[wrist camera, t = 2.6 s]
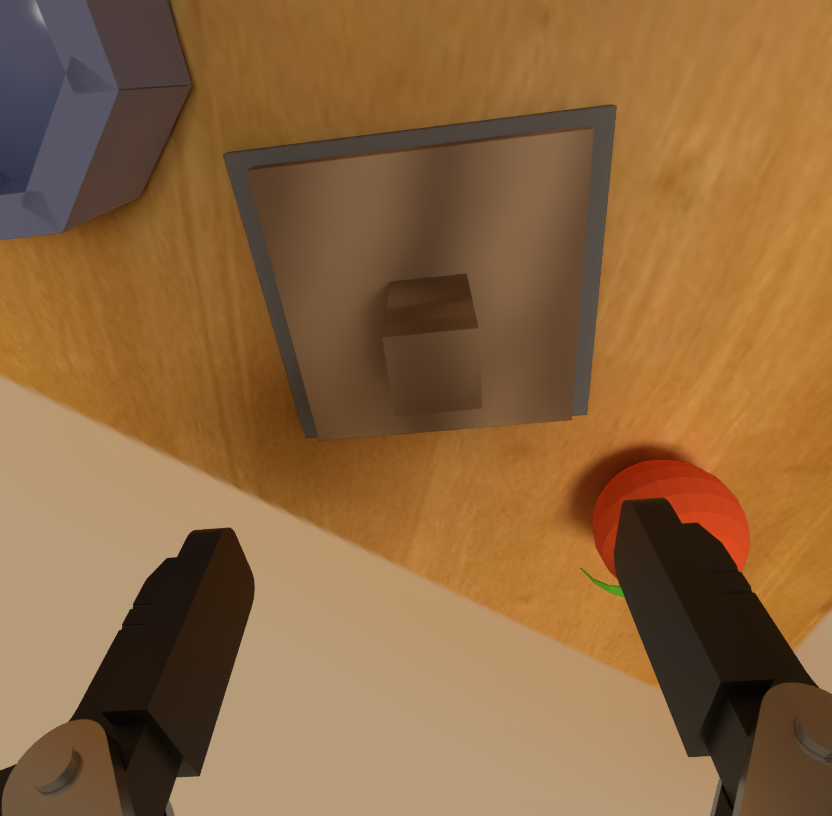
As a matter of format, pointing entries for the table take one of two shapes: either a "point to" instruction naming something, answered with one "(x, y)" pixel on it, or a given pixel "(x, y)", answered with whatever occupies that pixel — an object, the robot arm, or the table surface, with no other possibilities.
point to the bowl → (83, 107)
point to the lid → (432, 280)
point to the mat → (591, 117)
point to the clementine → (689, 497)
